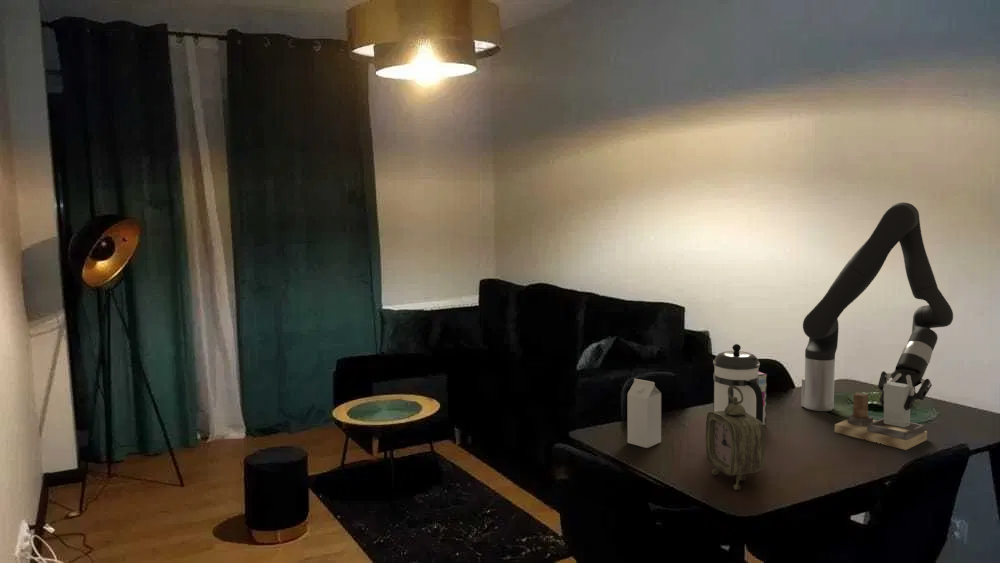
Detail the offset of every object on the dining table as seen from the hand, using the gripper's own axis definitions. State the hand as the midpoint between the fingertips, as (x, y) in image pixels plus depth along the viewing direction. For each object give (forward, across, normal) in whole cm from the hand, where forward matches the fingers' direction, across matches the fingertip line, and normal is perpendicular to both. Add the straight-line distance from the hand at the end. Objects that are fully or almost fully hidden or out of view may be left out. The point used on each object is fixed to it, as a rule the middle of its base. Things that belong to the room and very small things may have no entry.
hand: (894, 406), depth 219 cm
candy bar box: (+17, -39, -3) cm, 42 cm away
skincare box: (+3, 0, +6) cm, 6 cm away
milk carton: (+46, -46, -32) cm, 73 cm away
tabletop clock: (+50, -12, -35) cm, 62 cm away
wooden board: (+6, -5, +8) cm, 11 cm away
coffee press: (+33, -26, -19) cm, 47 cm away
